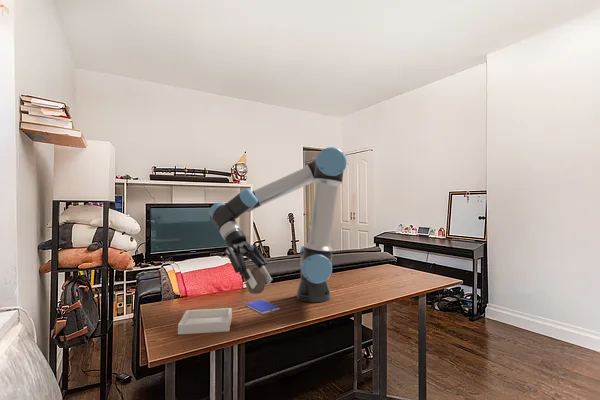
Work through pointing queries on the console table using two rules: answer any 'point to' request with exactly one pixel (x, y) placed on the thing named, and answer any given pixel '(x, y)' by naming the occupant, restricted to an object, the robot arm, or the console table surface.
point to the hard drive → (262, 306)
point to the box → (205, 321)
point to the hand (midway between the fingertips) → (262, 284)
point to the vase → (258, 278)
